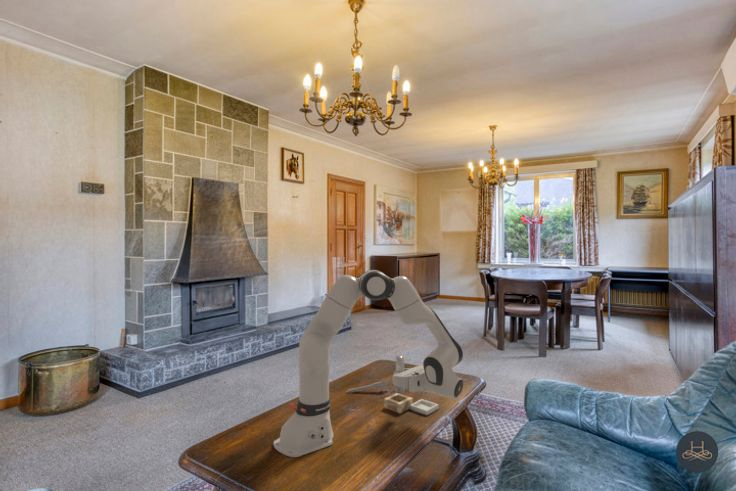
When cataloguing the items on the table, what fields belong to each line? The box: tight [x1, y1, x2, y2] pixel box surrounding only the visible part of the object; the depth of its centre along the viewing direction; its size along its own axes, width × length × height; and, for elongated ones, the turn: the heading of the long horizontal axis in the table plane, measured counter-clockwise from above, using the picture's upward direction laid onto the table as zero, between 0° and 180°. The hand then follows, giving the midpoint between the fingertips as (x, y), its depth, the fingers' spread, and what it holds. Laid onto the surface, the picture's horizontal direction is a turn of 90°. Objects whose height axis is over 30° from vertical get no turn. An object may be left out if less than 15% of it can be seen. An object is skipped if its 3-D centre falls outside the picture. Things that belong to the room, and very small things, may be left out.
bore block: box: [383, 392, 414, 414], centre depth 174 cm, size 9×9×4 cm
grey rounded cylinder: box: [395, 355, 405, 394], centre depth 167 cm, size 4×4×15 cm
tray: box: [409, 398, 440, 417], centre depth 172 cm, size 9×9×2 cm
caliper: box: [345, 379, 388, 394], centre depth 192 cm, size 20×1×6 cm, turn 95°
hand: (398, 371), depth 168 cm, fingers closed on grey rounded cylinder, 4 cm apart
